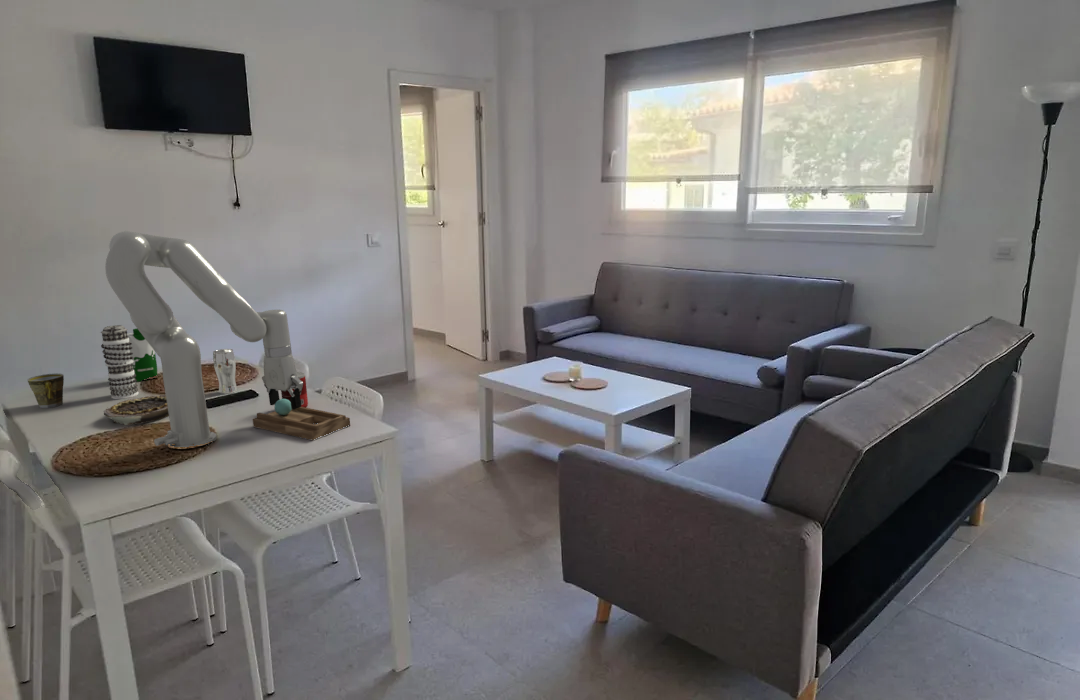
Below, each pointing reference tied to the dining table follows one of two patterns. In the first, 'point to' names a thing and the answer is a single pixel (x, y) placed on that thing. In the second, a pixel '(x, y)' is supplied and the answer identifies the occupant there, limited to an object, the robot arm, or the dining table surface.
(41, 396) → the ceramic cup
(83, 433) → the dining table surface
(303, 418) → the track board
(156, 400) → the pie
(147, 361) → the milk carton
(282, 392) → the canned food
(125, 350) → the decorative candle
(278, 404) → the ball
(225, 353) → the beer glass
